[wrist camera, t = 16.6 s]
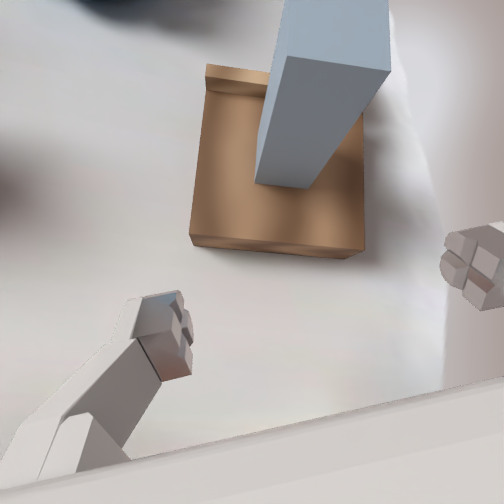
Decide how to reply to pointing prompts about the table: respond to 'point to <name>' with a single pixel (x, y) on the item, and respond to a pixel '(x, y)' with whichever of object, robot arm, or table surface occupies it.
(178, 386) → the table surface
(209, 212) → the walnut plinth
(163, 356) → the robot arm
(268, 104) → the slate-blue pillar block
